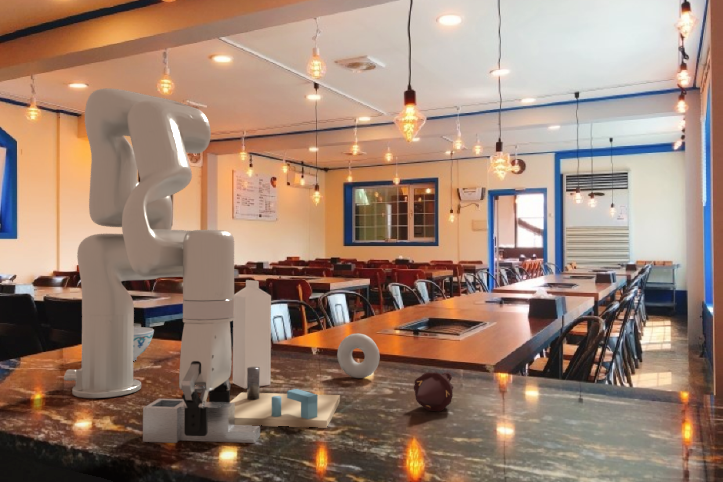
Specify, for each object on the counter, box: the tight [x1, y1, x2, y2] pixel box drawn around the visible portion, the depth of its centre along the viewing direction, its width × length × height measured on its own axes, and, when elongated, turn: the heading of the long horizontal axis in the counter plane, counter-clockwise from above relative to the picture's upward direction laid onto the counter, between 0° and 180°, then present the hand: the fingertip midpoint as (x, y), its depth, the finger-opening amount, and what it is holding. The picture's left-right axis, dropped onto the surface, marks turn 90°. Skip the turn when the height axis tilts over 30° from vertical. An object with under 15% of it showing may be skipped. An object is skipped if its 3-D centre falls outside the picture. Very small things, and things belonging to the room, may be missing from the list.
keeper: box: [271, 388, 319, 419], centre depth 93 cm, size 6×5×5 cm
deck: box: [230, 392, 341, 429], centre depth 99 cm, size 19×16×1 cm
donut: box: [336, 333, 381, 379], centre depth 126 cm, size 10×4×10 cm, turn 68°
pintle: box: [246, 367, 260, 400], centre depth 104 cm, size 2×2×6 cm
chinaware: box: [133, 326, 155, 362], centre depth 145 cm, size 15×15×8 cm
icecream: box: [413, 371, 454, 412], centre depth 101 cm, size 7×7×15 cm
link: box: [142, 398, 261, 444], centre depth 85 cm, size 17×5×5 cm, turn 85°
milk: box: [232, 279, 272, 389], centre depth 120 cm, size 6×6×22 cm
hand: (208, 424), depth 85 cm, fingers open, 9 cm apart
